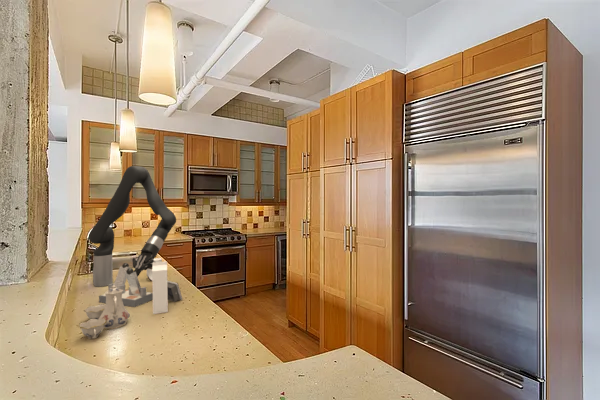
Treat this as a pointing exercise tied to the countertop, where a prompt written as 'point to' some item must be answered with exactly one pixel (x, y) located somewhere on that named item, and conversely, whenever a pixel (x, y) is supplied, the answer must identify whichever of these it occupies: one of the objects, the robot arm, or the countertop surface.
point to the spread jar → (149, 270)
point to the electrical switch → (173, 291)
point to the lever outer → (133, 281)
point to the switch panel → (130, 296)
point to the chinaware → (105, 314)
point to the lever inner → (121, 275)
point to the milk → (159, 287)
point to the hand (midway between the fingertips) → (134, 276)
